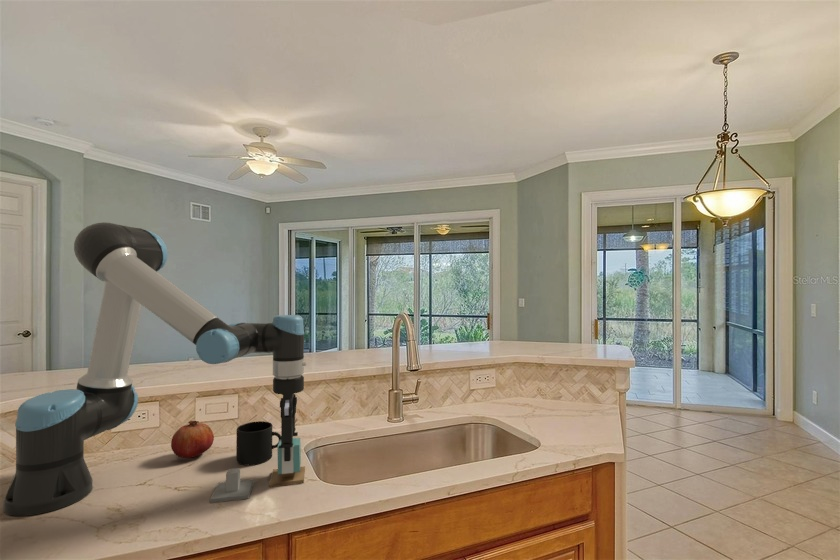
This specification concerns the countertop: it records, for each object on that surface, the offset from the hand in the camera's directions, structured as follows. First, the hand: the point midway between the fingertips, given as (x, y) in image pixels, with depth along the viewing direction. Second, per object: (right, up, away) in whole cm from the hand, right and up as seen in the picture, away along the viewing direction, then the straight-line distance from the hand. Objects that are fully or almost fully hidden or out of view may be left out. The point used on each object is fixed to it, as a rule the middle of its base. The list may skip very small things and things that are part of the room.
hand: (288, 467), depth 107 cm
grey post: (-11, -2, -8) cm, 13 cm away
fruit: (-32, -3, +13) cm, 34 cm away
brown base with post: (0, -2, 0) cm, 2 cm away
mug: (-12, -3, +12) cm, 17 cm away
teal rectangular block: (0, 0, 0) cm, 0 cm away
